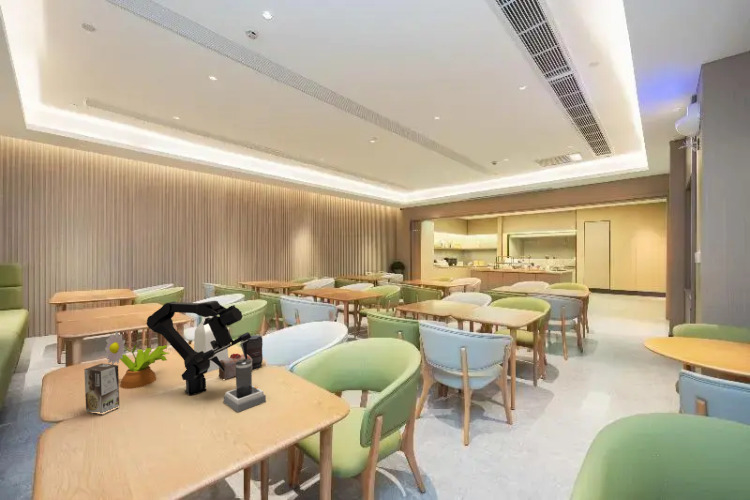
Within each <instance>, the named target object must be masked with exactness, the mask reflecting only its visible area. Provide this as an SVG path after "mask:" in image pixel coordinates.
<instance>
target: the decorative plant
mask: <svg viewBox="0 0 750 500" xmlns="http://www.w3.org/2000/svg"><path fill="white" fill-rule="evenodd" d="M114 334H115V335H114ZM114 334H111V333H110V334H109V337H108V338H106V339H105V342H106V345H105V346H106V347H105V348H104V351H105V353H106V354H105V357H106V359H107V360H108V362H107V364H110V363H111V365H115V363H117V364H116V365H118V364H119V363H120V362H122V363H123V365H125V366H126V367H127V370H126V371H125V374H124V375H123V377H122V378H121V382H120V384H119V388H121V389H125V390H129V389H137V388H142V387H146V386H149V385H151V384H153V383H155V382H156V381H157V377H156V373H155V372H154V370H152V369H151V366H150V365H151V364H154V363H156V361H158V360H161V361H163V362H165V361H168V359H167V357H166V356H165V355H169V354H170V352H165V351H164V350H165V349H166V348H168V345H167V344H166V345H165V344H164V345H163V346H161V345H158V346H157V347H155V349H154V350H153V351H152V349H153V348H152V347H146V348H145V349H144V350H143V349H142V348H141V349H139V348H138V349H137V344H134V346H133V347H132V348H133V349H132V350H130V349H128V347H125V343H126V339H123V333H120V334H119V333H118V330H116V331H115V333H114ZM125 350H127V351H128V352H130V353H131V354H132V356H133V358H134V361H133V360H132V359H130V357H128V355H127V354H123V353H124V351H125ZM136 350H137V351H136ZM135 351H136V352H137V353H136V355H135ZM151 351H152V352H151Z"/></svg>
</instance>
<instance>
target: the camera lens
mask: <svg viewBox="0 0 750 500" xmlns="http://www.w3.org/2000/svg"><path fill="white" fill-rule="evenodd" d="M251 337H252V338H250V339H248V340H249V341H248V342H247V354H248V355H249V356H250V357H251V358H252V370H257V369H256V368H258V369H260V368H261V367H262V364H263V359H264V357H263V336H262V335H261V334H260V335H258V334H257V335H251Z"/></svg>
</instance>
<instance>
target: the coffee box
mask: <svg viewBox="0 0 750 500" xmlns="http://www.w3.org/2000/svg"><path fill="white" fill-rule="evenodd" d="M119 377H120V376H119V365H118V364H113V365H112V363H111V364H110V363H102V362H101V363H99V364H96V365H92V366H90V367H88V368H84V393H85V395H84V396H85V412H86V413H88V412H100V413H103V412H106V411H108V410H111V409H113V408H116V407H118V406H119V407H120V381H119V379H120V378H119Z"/></svg>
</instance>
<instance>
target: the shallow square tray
mask: <svg viewBox="0 0 750 500" xmlns="http://www.w3.org/2000/svg"><path fill="white" fill-rule="evenodd" d="M224 393H225V395H223V403H224V404H225V405H226V406H228V407H230V408H231V409H232V410H233V411H235V412H237V413H240V412H242V411H245V410H249V409H251V408H253V407H255V406H256V407H257V406H258V405H262V404H264V403H266V401H267V398H266V397H267V396H266V394H265V393H264V390H262V389H260V388H259V387H257V386H256V385H253V384H252V394H251V395H248V396H245V397H243V398H240V399H238V398H237V396H236V388H235V389H232V390H228V391H225V392H224Z"/></svg>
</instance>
